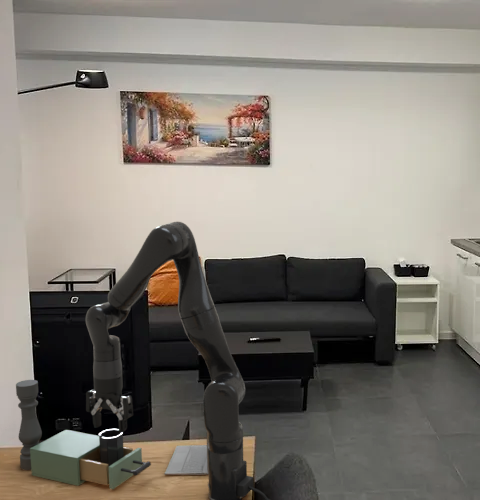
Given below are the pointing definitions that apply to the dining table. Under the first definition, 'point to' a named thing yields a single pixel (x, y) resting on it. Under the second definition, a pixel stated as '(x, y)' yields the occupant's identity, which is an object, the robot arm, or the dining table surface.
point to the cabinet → (62, 456)
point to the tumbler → (111, 446)
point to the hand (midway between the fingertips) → (110, 429)
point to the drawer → (112, 467)
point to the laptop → (189, 460)
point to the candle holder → (28, 420)
